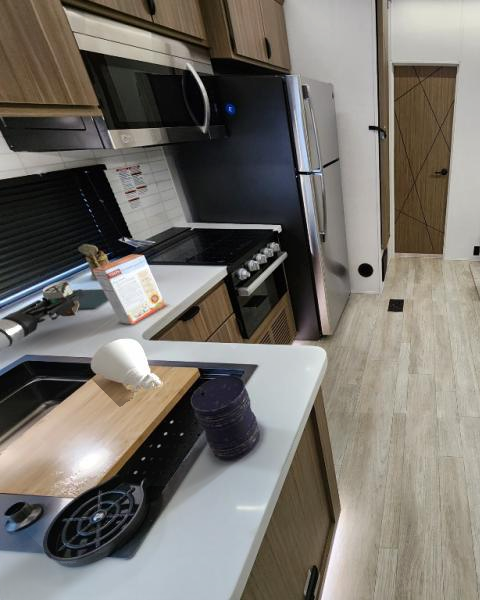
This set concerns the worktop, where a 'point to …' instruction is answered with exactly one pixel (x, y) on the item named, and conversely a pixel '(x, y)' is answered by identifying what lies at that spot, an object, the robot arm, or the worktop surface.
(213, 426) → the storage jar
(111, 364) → the rocket engine
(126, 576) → the worktop surface
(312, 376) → the worktop surface
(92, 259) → the tan yellow lumpy piece
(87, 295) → the side mat
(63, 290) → the food container
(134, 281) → the cracker box
